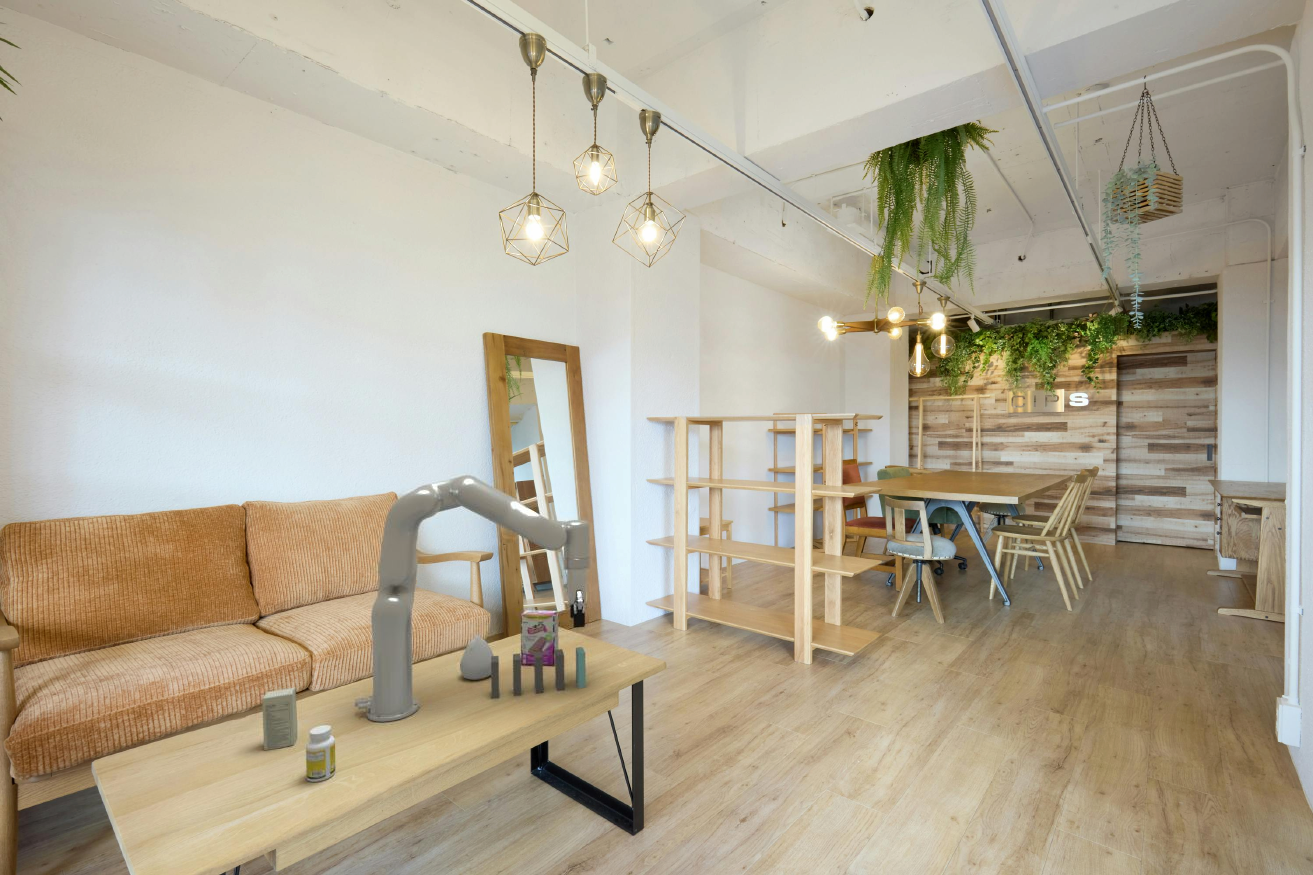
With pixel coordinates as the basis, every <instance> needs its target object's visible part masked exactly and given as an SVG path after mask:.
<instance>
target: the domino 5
mask: <svg viewBox="0 0 1313 875" xmlns="http://www.w3.org/2000/svg"><path fill="white" fill-rule="evenodd" d="M575 675H576V676H575V682H576V685H577V688H578V689H583V688H587V686H586V682H587V681H586V677H587V676H586V651H585V649H584V647H583V646H579V647H575Z"/></svg>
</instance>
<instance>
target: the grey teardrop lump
mask: <svg viewBox="0 0 1313 875" xmlns="http://www.w3.org/2000/svg"><path fill="white" fill-rule="evenodd" d="M491 656H495V655H494V652H493V650H492V648H491V647H490V645H489V643H488V642H487V641H486V640H485V639H484V638H481V637H480V635H479V634H475V635H474V637H473V639H472V640H471V641H470V642H469V643H468V644H467V646H466V648H465V650H464V652H463V655H462V657H461V660H460V663H459V671H460V673H461V675H462V676H463V678H465V679H467V680H469V681H470V680H471V681H477V680H478V681H480V680H483V679H486V678H488V677H491Z"/></svg>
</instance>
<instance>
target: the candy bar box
mask: <svg viewBox="0 0 1313 875" xmlns="http://www.w3.org/2000/svg"><path fill="white" fill-rule="evenodd" d="M558 649H559V611H558V610H539V609H538V610H537V609H536V610H535V609H532V610H531V609H525V610H524V611H523V612H522V613H521V614H520V656H521V666H534V652H539V651H541V652H542V656H543V667H545V666H547V667H548V666H550V667H551V666H552V667H555V650H558Z"/></svg>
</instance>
